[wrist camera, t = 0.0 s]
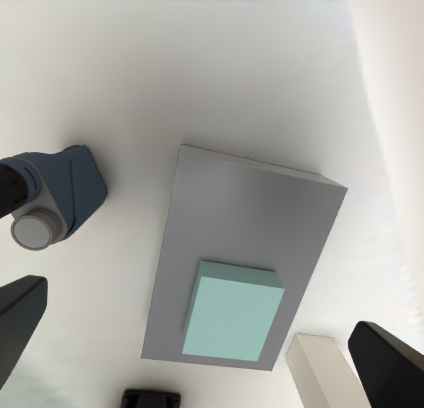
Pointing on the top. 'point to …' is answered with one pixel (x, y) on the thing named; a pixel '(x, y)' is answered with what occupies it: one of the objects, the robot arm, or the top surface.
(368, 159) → the top surface
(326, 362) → the grey tall block
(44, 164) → the vaping device
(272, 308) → the teal rectangular block
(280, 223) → the socket
